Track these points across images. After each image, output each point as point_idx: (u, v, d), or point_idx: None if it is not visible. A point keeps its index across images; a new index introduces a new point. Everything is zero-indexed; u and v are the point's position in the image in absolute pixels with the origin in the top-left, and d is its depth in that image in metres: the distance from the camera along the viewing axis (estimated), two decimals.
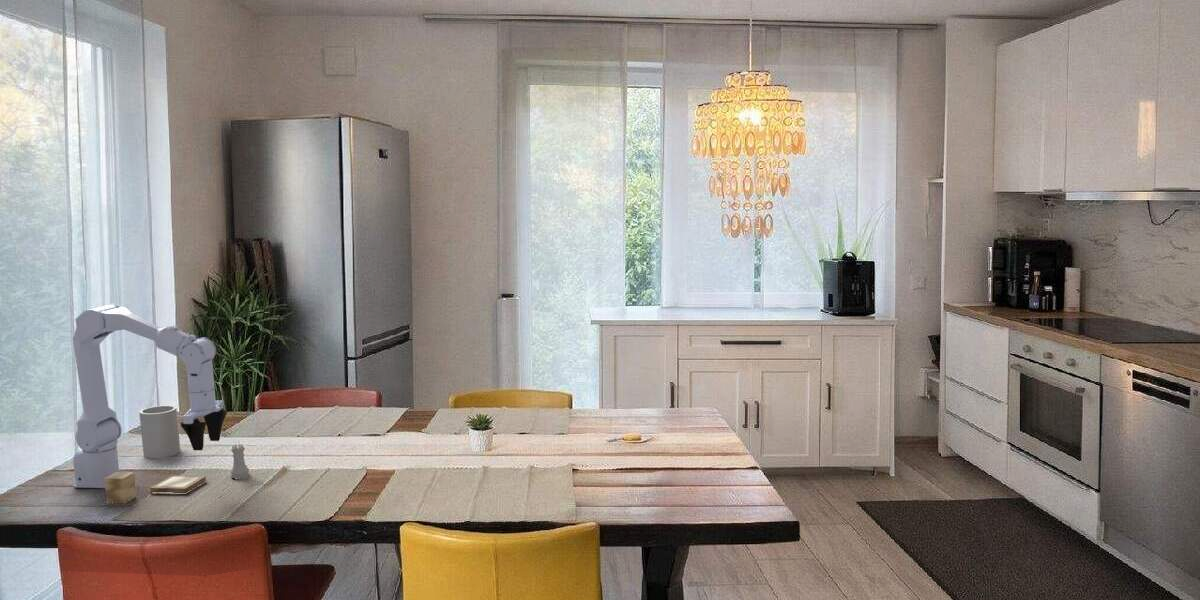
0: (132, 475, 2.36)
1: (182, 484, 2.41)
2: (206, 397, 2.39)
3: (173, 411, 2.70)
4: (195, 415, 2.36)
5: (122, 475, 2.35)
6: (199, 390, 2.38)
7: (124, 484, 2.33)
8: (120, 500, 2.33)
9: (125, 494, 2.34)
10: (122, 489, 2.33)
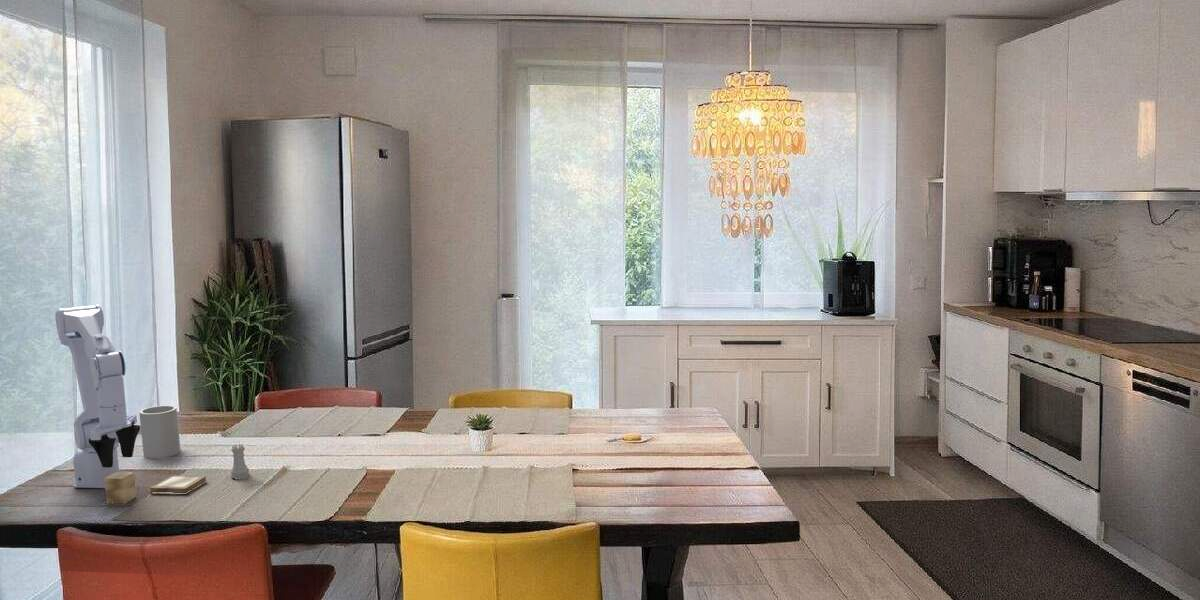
0: (132, 475, 2.36)
1: (182, 484, 2.41)
2: (116, 412, 2.30)
3: (173, 411, 2.70)
4: (103, 431, 2.27)
5: (122, 475, 2.35)
6: (100, 405, 2.30)
7: (124, 484, 2.33)
8: (120, 500, 2.33)
9: (125, 494, 2.34)
10: (122, 489, 2.33)
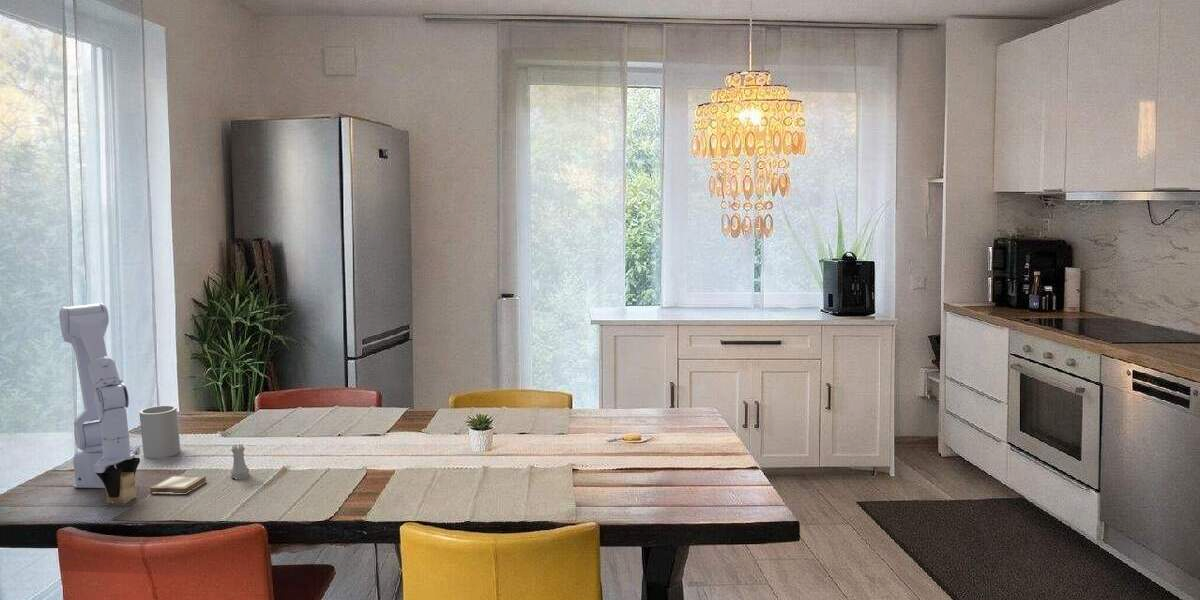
0: (132, 475, 2.36)
1: (182, 484, 2.41)
2: (119, 445, 2.32)
3: (173, 411, 2.70)
4: (106, 464, 2.29)
5: (122, 475, 2.35)
6: (103, 437, 2.31)
7: (124, 484, 2.33)
8: (120, 500, 2.33)
9: (125, 494, 2.33)
10: (122, 489, 2.33)
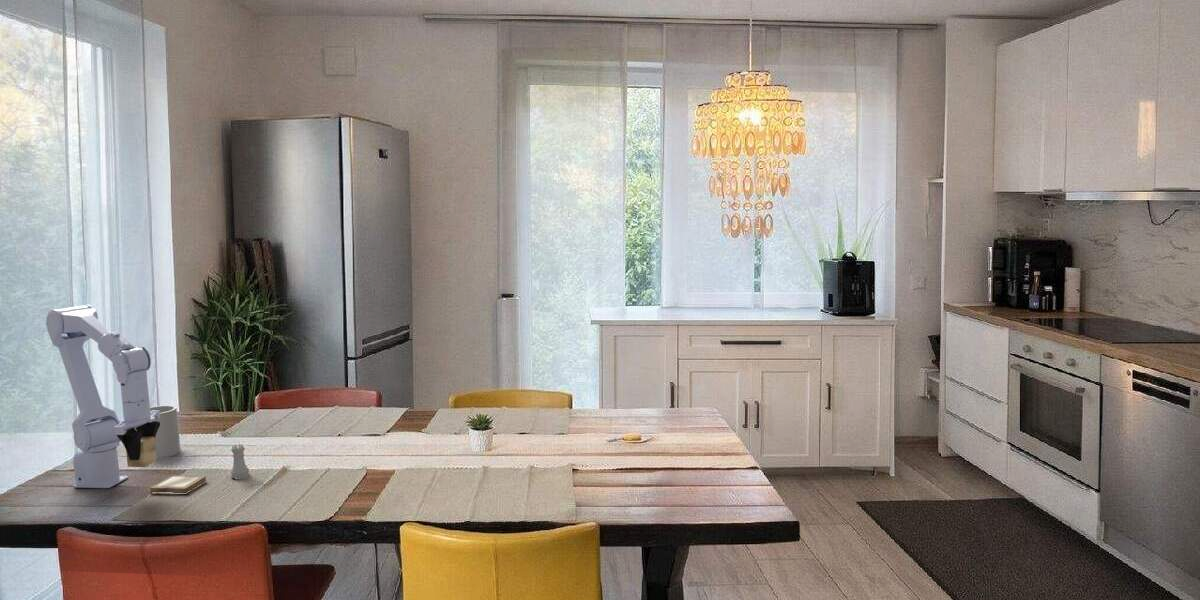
0: (153, 439, 2.38)
1: (182, 484, 2.41)
2: (140, 407, 2.33)
3: (173, 411, 2.70)
4: (127, 426, 2.30)
5: (143, 439, 2.37)
6: (127, 400, 2.33)
7: (145, 448, 2.35)
8: (141, 463, 2.35)
9: (146, 457, 2.35)
10: (143, 452, 2.35)
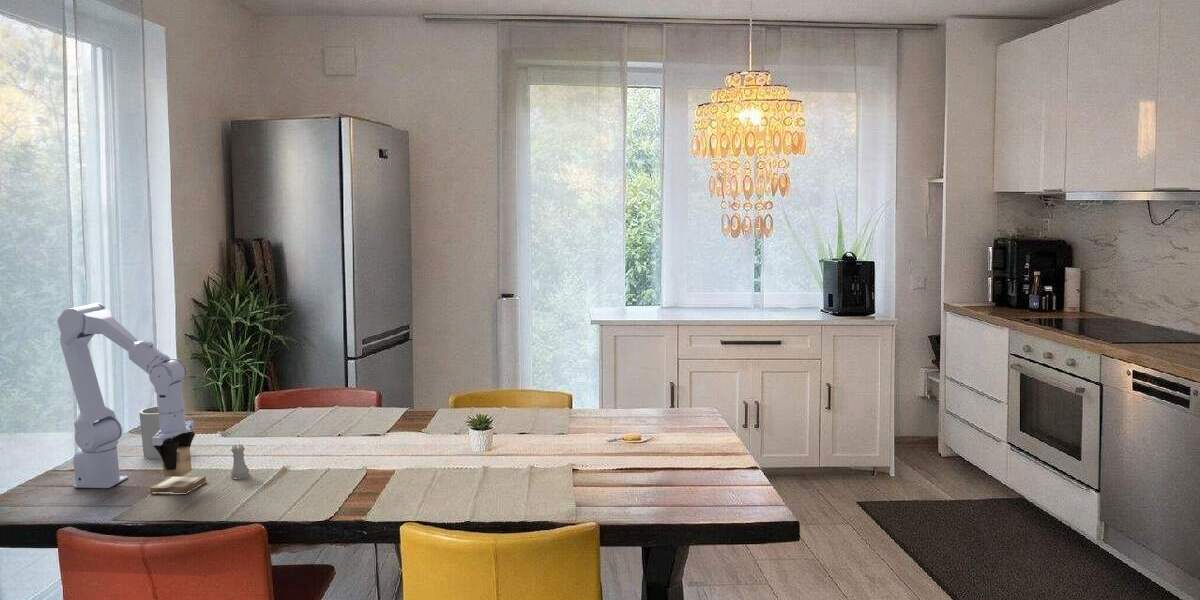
0: (188, 449, 2.43)
1: (182, 484, 2.41)
2: (176, 418, 2.39)
3: None
4: (164, 436, 2.35)
5: (179, 449, 2.42)
6: (167, 411, 2.38)
7: (181, 458, 2.40)
8: (177, 473, 2.40)
9: (182, 467, 2.40)
10: (179, 462, 2.40)
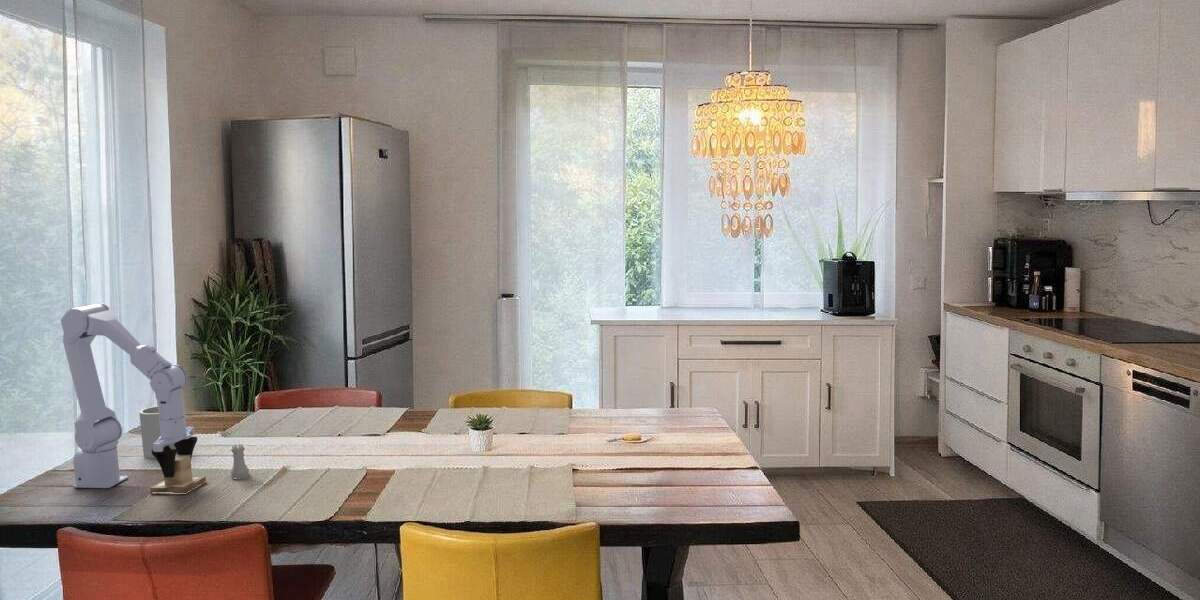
0: (188, 457, 2.43)
1: None
2: (177, 425, 2.39)
3: None
4: (165, 443, 2.36)
5: (179, 457, 2.42)
6: (168, 418, 2.38)
7: (182, 466, 2.40)
8: (178, 481, 2.40)
9: (182, 475, 2.41)
10: (180, 471, 2.40)
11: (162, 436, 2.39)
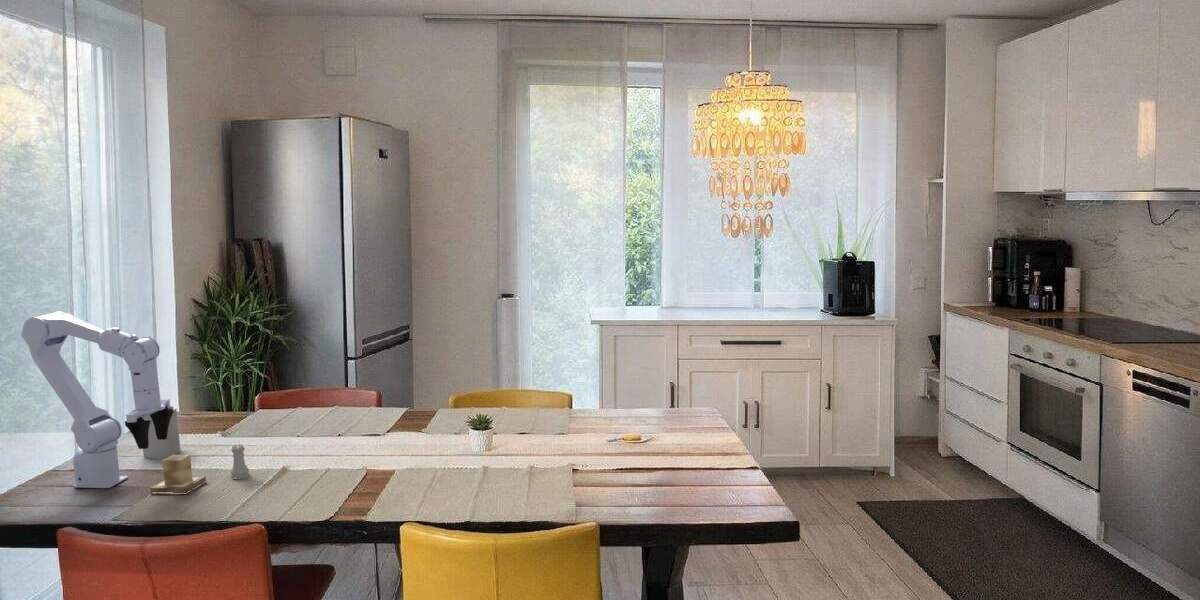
0: (188, 457, 2.43)
1: None
2: (150, 396, 2.40)
3: (173, 411, 2.70)
4: (138, 414, 2.37)
5: (179, 457, 2.42)
6: (142, 389, 2.39)
7: (182, 466, 2.40)
8: (178, 481, 2.40)
9: (182, 475, 2.41)
10: (180, 471, 2.40)
11: (136, 408, 2.41)
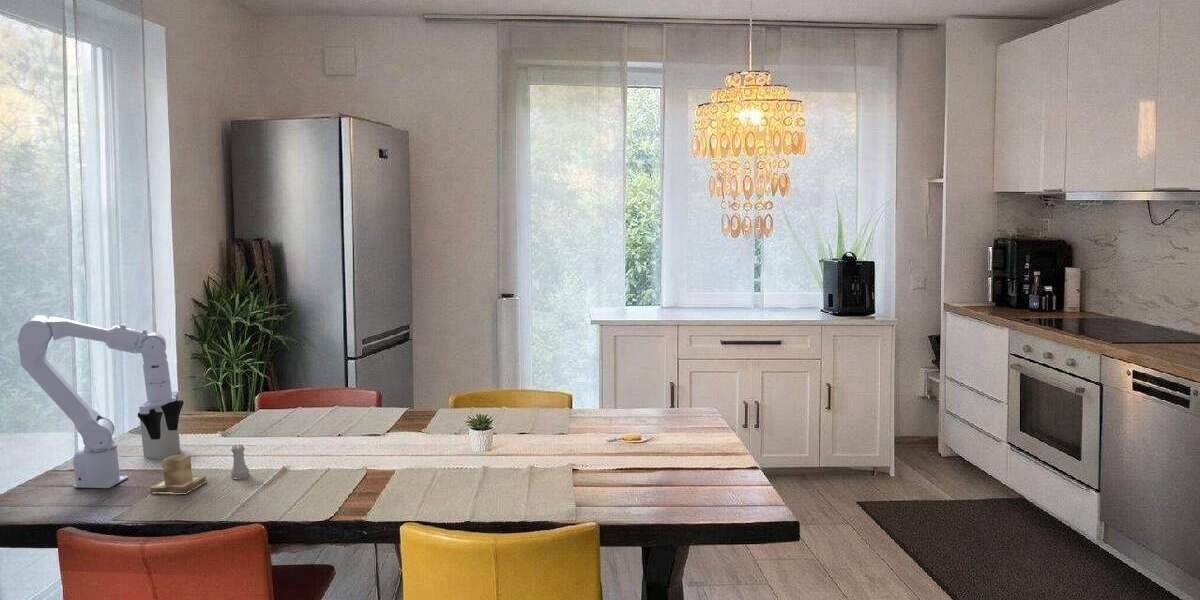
0: (188, 457, 2.43)
1: None
2: (162, 388, 2.48)
3: None
4: (151, 405, 2.45)
5: (179, 457, 2.42)
6: (161, 380, 2.48)
7: (182, 466, 2.40)
8: (178, 481, 2.40)
9: (182, 475, 2.41)
10: (180, 471, 2.40)
11: (148, 400, 2.48)
